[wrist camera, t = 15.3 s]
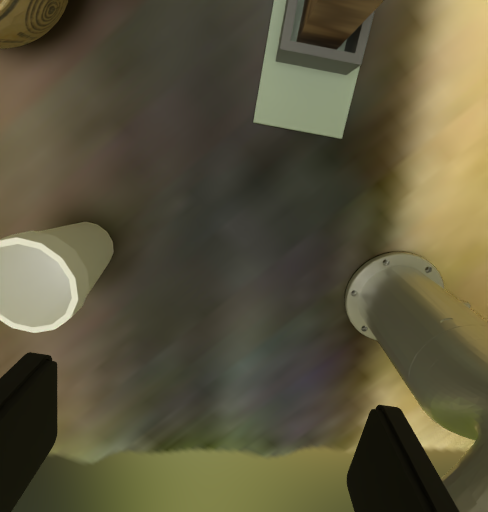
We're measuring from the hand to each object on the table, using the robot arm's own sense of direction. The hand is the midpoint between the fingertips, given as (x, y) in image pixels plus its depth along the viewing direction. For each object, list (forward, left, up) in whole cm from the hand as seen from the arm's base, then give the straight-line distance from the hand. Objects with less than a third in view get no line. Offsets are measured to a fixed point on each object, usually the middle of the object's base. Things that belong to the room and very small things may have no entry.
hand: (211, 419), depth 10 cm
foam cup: (+18, +8, -34) cm, 39 cm away
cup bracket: (-5, -18, -33) cm, 38 cm away
